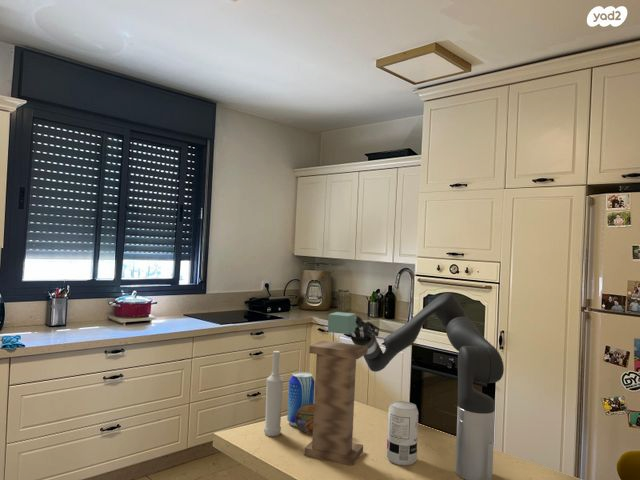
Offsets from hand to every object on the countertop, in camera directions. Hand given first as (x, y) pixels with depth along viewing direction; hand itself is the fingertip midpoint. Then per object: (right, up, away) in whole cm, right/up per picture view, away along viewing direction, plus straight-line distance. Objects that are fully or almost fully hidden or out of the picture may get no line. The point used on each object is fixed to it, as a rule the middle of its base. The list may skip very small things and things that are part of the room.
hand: (352, 318), depth 143 cm
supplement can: (+12, -37, -14) cm, 42 cm away
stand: (-6, -36, -12) cm, 38 cm away
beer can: (-17, -36, +10) cm, 41 cm away
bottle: (-25, -36, 0) cm, 43 cm away
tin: (-10, -37, +4) cm, 38 cm away
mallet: (-2, -3, -4) cm, 5 cm away
